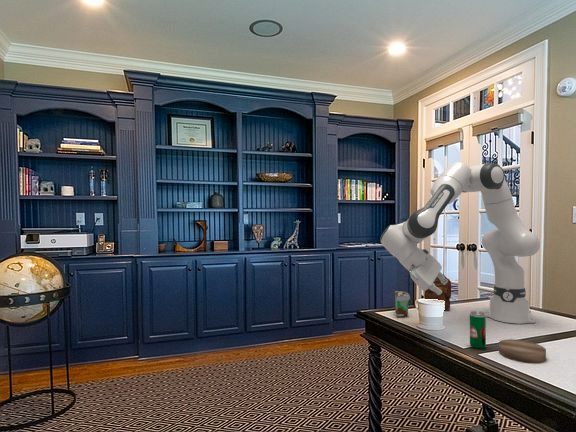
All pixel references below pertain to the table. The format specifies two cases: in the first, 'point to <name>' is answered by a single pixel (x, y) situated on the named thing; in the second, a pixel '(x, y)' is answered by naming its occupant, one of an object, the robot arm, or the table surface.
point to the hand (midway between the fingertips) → (443, 288)
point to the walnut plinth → (522, 351)
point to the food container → (401, 304)
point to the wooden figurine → (444, 295)
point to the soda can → (477, 330)
